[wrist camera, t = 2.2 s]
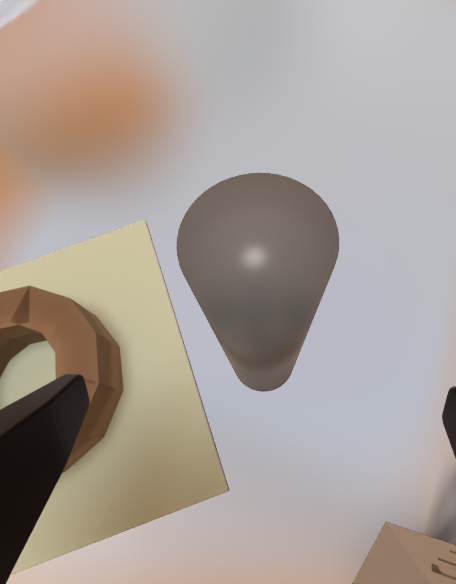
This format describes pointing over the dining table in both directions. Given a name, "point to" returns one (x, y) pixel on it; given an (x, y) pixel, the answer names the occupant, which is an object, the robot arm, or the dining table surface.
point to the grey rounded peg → (259, 269)
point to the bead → (66, 352)
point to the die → (408, 559)
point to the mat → (132, 405)
